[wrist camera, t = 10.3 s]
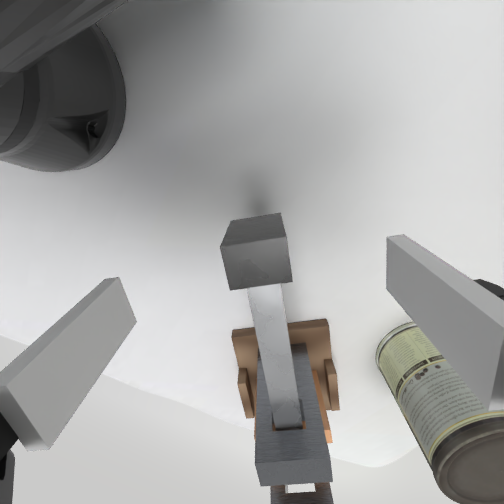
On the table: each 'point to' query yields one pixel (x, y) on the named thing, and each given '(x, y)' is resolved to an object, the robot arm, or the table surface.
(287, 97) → the table surface
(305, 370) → the bearing blocks
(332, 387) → the tray
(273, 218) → the shaft
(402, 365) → the coffee can
